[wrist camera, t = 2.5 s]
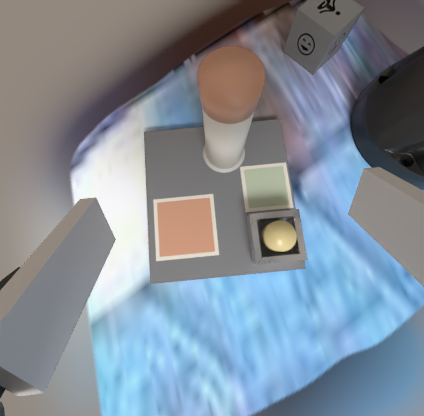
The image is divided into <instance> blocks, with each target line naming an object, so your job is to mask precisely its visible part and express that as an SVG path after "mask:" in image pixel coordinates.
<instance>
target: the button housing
mask: <svg viewBox="0 0 424 416" xmlns="http://www.w3.org/2000/svg"><path fill="white" fill-rule="evenodd" d="M246 219H247V227H248V235H249V243H250V251H251V259H252V263H254V264H256V265H258V264H268V263H278V262H288V261H298V260H307V255H306V249H305V243H304V237H303V232H302V226H301V220H300V214H299V209H295V210H285V211H275V212H264V213H254V214H249V215H248V216H247V217H246ZM278 219H286V222H288V223H290V224H291V225H292V226H293V227H294V229H295V231H296V234H297V239H296V243H295V245H294V246H293V247H292V248H291V253H285V254H275V255H264V256H261V249H260V241H259V234H258V226H257V221H267V220H278Z"/></svg>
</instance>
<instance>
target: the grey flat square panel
mask: <svg viewBox="0 0 424 416" xmlns="http://www.w3.org/2000/svg"><path fill="white" fill-rule="evenodd" d="M144 141H145V165H146V188H147V212H148V236H149V260H150V283H151V284H154V283H165V282H175V281H185V280H195V279H205V278H215V277H225V276H235V275H245V274H256V273H266V272H276V271H286V270H296V269H306V267H305V262H304V260H298V261H288V262H278V263H268V264H258V265H256V264H254V263H252V259H251V251H250V243H249V235H248V227H247V219H246V217H247V216H248V215H249V214H254V213H264V212H275V211H285V210H295V203H294V197H293V191H292V185H291V180H290V174H289V168H288V162H287V156H286V150H285V144H284V138H283V133H282V127H281V121H280V119H275V120H265V121H254V122H251V125H250V128H249V131H248V135H247V138H246V142H245V145H244V148H243V152H242V155H241V158H240V160H239V162H238V163H237V164H236V165H235V166H234V167H232V168H229V169H219V168H216V167H214V166H213V165H212V164H211V163H210V162H209V160H208V158H207V154H206V144H205V133H204V126H202V127H192V128H181V129H171V130H160V131H150V132H144ZM279 220H281V221H286V219H278V220H267V221H257V226H258V234H259V241H260V249H261V256H264V255H275V254H285V253H291V249H290V250H288V251H284V252H281V251H272V250H269V249H268V248H266V247H265V246H264V244H263V243H262V240H261V232H262V230H263V228H264V227H265V226H266V225H268V224H270V223H272V222H275V221H279Z"/></svg>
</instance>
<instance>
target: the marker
mask: <svg viewBox="0 0 424 416" xmlns="http://www.w3.org/2000/svg"><path fill="white" fill-rule="evenodd" d="M265 77H266V74H265V68H264V66H263V63H262V62H261V60H260V59H259V58H258V57H257V56H256V55H255V54H254V53H253V52H251V51H250V50H248V49H245V48H242V47H238V46H226V47H221V48H218V49H215V50H214V51H212V52H210V53H209V54H208V55H207V56H206V57H205V58H204V59H203V60H202V62H201V64H200V66H199V69H198V84H199V94H200V102H201V106H202V111H203V122H204V133H205V144H206V154H207V158H208V160H209V162H210V163H211V164H212V165H213V166H214V167H216V168H219V169H229V168H232V167H234V166H235V165H236V164H237V163H238V162H239V160H240V158H241V155H242V152H243V148H244V145H245V142H246V138H247V135H248V131H249V128H250V125H251V121H252V118H253V115H254V112H255V110H256V108H257V106H258V103H259V99H260V96H261V93H262V90H263V86H264V83H265Z"/></svg>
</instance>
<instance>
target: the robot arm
mask: <svg viewBox="0 0 424 416" xmlns="http://www.w3.org/2000/svg"><path fill="white" fill-rule="evenodd" d="M352 132H353V136H354V140H355V142H356V145H357V147H358V149H359V151H360V152H361V154H362V156H363V157H364V158H365V160H366V161H367V162H368V163H369V164H370V165H371V166H372V167H373V168H365V169H364V170H363V173H362V176H361V179H360V181H359V184H358V187H357V190H356V193H355V196H354V199H353V201H352V204H351V207H350V210H349V213H348V215H349V216H351V217H352V218H353V219H354V220H355V221H356V222H357V223H358V224H359V225H360V226H361V227H362V228H363V229H364V230H365V231H366V232H367V233H368V234H369V235H370V236H371V237H372V238H373V239H374V240H376V241H377V242H378V243H379V244H380V245H381V246H382V247H383V248H384V249H385V250H386V251H387V252H388V253H389V254H390V255H391V256H392V257H393V258H394V259H395V260H396V261H397V262H398V263H399V264H401V265H402V266H403V267H404V268H405V269H406V270H407V271H408V272H409V273H410V274H411V275H412V276H413V277H414V278H415V279H416V280H417V281H418V282H419V283H420V284H421V285H422V286H423V287H424V191H423V190H424V47H422V48H420V49H419V50H417V51H415V52H413V53H412V54H410V55H408V56H407V57H405V58H403V59H402V60H400V61H398V62H397V63H395V64H393V65H391V66H390V67H388V68H387V69H385V70H384V71H383V72H381V73H380V74H379V75H378V76H377V77H376V78H375V79H374V80H373V81H372V82H371V83H370V84H369V85H368V86H367V87H366V88H365V89H364V90H363V92H362V93H361V94H360V96H359V97H358V99H357V101H356V103H355V105H354V108H353V112H352ZM115 240H116V239H115V237H114V235H113V233H112V231H111V229H110V227H109V224H108V222H107V220H106V218H105V216H104V214H103V212H102V209H101V207H100V205H99V203H98V201H97V199H96V198H87V199H80V200H79V201H78V202H77V203H76V205H75V206H74V207H73V208H72V209H71V210H70V211H69V213H68V214H67V215H66V216H65V217H64V218H63V219H62V221H61V222H60V223H59V224H58V225H57V226H56V228H55V229H54V230H53V231H52V232H51V233H50V234H49V235H48V237H47V238H46V239H45V240H44V241H43V242H42V243H41V245H40V246H39V247H38V248H37V249H36V251H34V253H33V254H32V255H31V256H30V257H29V258H28V259H27V261H26V262H25V263H24V264H23V265H22V266H21V267H18V268H17V269H16V270H14V271H13V272H12V273H10V274H9V275H8V276H7V277H5V278H4V279H2V281H1V282H0V398H1V396H2V394H3V393H4V391H5V389H6V390H8V391H10V392H12V393H13V394H15V395H17V396H23V395H32V394H41V393H45V391H46V388H47V386H48V384H49V382H50V379H51V377H52V375H53V373H54V371H55V369H56V366H57V365H58V363H59V360H60V358H61V356H62V354H63V352H64V350H65V348H66V345H67V343H68V341H69V339H70V337H71V334H72V332H73V330H74V328H75V326H76V324H77V321H78V319H79V317H80V315H81V313H82V311H83V309H84V307H85V304H86V302H87V300H88V298H89V296H90V294H91V291H92V289H93V287H94V285H95V283H96V281H97V279H98V276H99V274H100V272H101V270H102V268H103V266H104V263H105V261H106V259H107V257H108V255H109V253H110V251H111V248H112V246H113V244H114V242H115ZM0 416H5V414H4V407H3V404H2V402H0Z"/></svg>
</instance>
